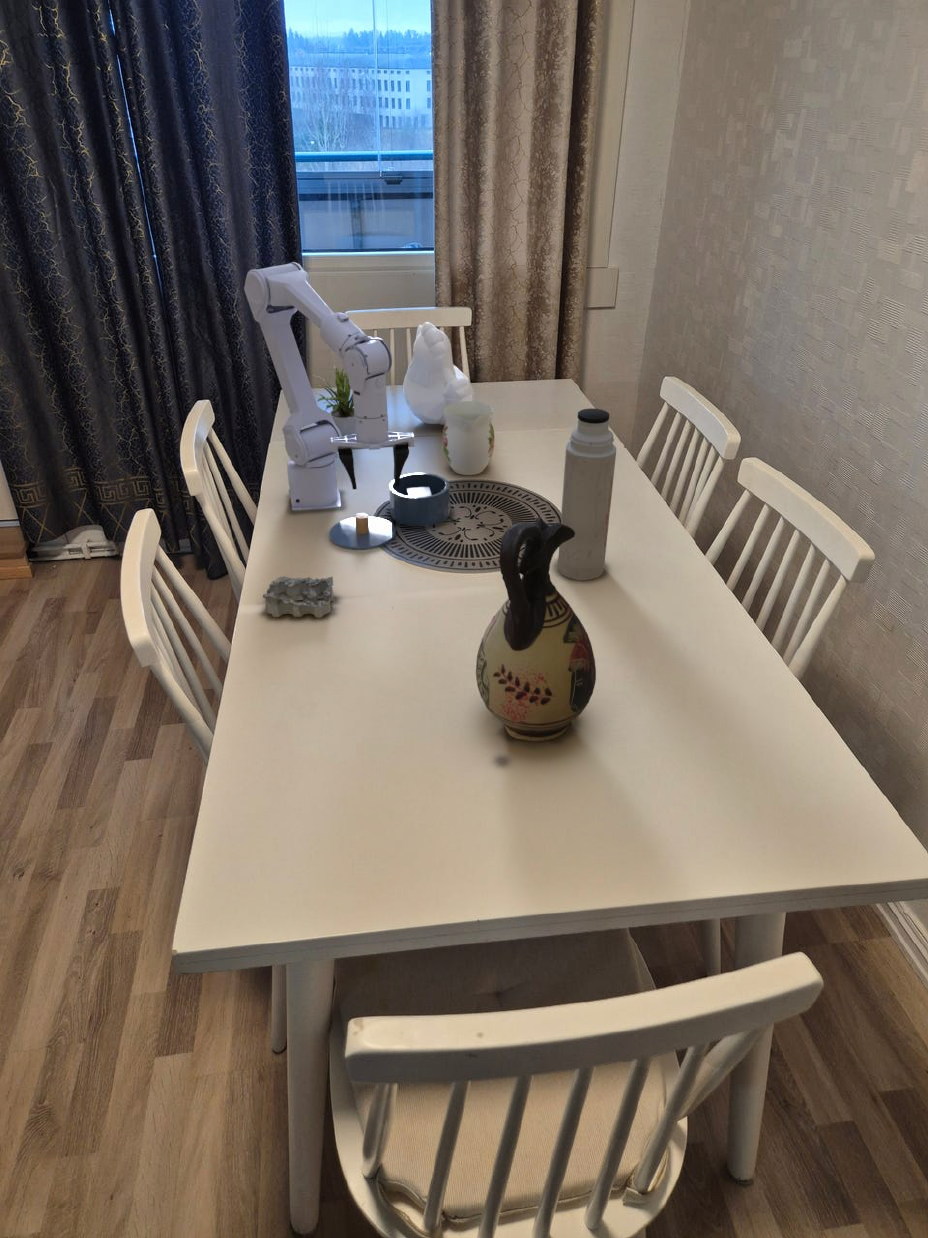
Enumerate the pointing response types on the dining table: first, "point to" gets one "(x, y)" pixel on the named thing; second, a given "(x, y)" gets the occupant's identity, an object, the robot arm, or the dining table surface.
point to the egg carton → (309, 594)
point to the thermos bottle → (587, 495)
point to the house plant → (341, 404)
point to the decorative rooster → (433, 377)
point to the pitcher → (468, 436)
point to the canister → (420, 500)
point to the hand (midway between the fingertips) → (375, 485)
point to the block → (418, 491)
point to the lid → (362, 532)
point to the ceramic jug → (534, 642)
